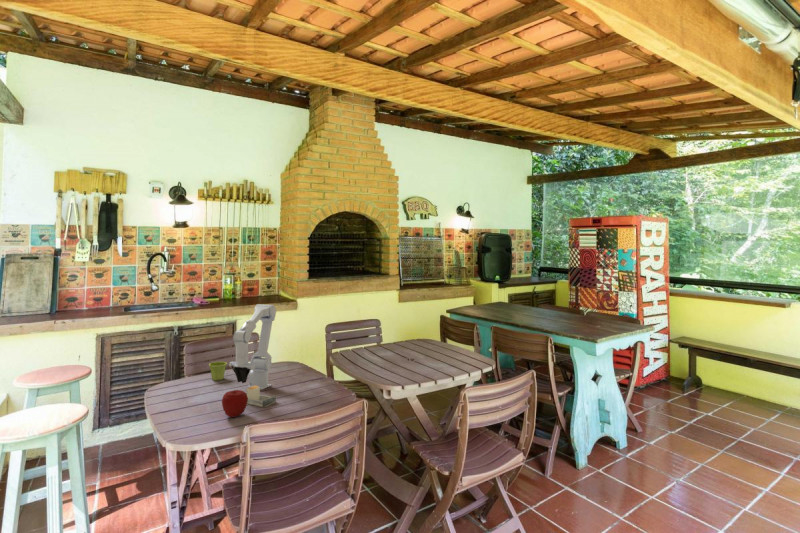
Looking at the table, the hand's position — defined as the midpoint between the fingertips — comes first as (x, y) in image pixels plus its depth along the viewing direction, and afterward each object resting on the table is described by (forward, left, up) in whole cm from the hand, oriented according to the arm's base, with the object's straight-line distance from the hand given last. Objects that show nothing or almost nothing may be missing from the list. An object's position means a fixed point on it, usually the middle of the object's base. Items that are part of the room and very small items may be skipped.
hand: (242, 382), depth 205 cm
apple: (+13, -17, -9) cm, 23 cm away
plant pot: (-35, +18, -9) cm, 41 cm away
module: (+7, 0, -8) cm, 10 cm away
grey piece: (+10, 0, -8) cm, 13 cm away
